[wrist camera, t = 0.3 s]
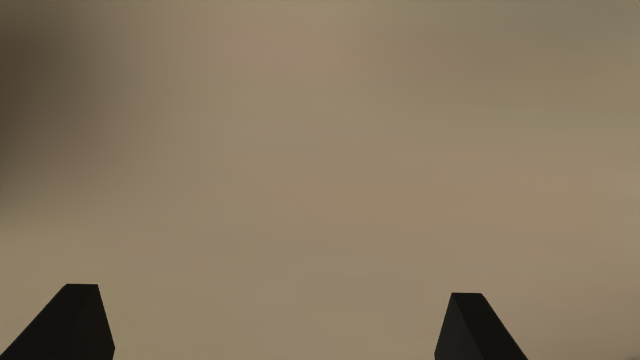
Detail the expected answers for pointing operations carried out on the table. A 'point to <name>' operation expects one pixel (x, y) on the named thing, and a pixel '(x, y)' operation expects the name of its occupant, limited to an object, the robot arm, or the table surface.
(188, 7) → the table surface
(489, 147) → the table surface
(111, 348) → the robot arm
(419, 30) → the table surface
